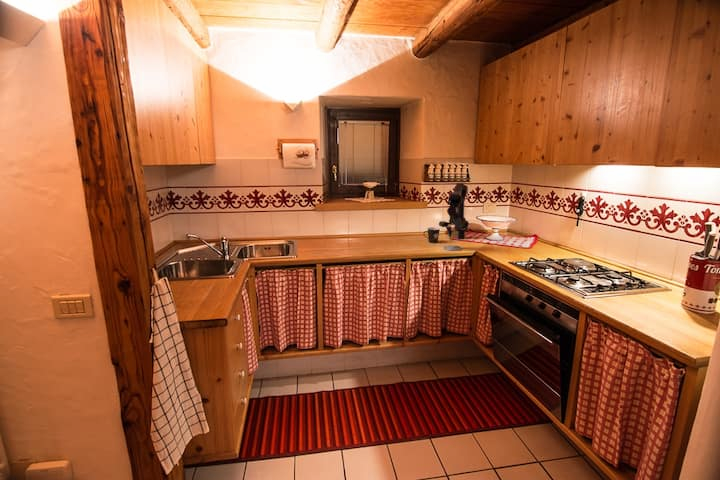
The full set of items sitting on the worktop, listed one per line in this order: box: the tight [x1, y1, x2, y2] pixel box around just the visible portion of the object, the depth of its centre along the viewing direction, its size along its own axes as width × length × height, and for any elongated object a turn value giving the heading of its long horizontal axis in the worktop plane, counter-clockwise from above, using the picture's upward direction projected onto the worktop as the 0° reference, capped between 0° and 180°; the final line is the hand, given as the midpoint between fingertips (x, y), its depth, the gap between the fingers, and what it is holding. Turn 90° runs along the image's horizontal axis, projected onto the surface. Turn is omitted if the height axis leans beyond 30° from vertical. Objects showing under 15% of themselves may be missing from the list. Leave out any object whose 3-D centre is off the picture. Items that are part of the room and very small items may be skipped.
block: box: [447, 229, 459, 240], centre depth 236 cm, size 6×4×5 cm, turn 12°
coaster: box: [443, 244, 463, 252], centre depth 238 cm, size 12×12×1 cm
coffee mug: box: [423, 226, 441, 244], centre depth 255 cm, size 12×9×10 cm
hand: (453, 236), depth 236 cm, fingers closed on block, 4 cm apart
